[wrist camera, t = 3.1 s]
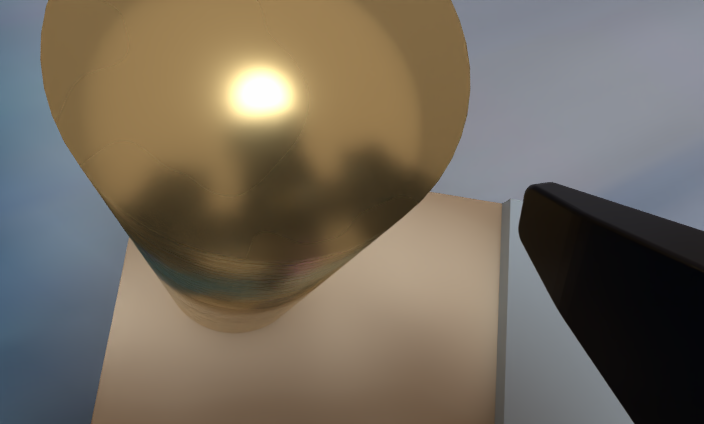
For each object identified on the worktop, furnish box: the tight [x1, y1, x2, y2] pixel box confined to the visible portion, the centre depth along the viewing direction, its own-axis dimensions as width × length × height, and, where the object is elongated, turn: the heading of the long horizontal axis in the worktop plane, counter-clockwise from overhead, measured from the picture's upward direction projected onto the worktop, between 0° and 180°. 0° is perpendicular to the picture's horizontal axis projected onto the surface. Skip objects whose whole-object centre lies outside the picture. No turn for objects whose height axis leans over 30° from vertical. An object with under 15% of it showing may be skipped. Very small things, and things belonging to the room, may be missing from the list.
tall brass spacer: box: [40, 0, 470, 333], centre depth 11 cm, size 4×4×12 cm
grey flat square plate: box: [495, 199, 634, 424], centre depth 19 cm, size 8×8×1 cm
